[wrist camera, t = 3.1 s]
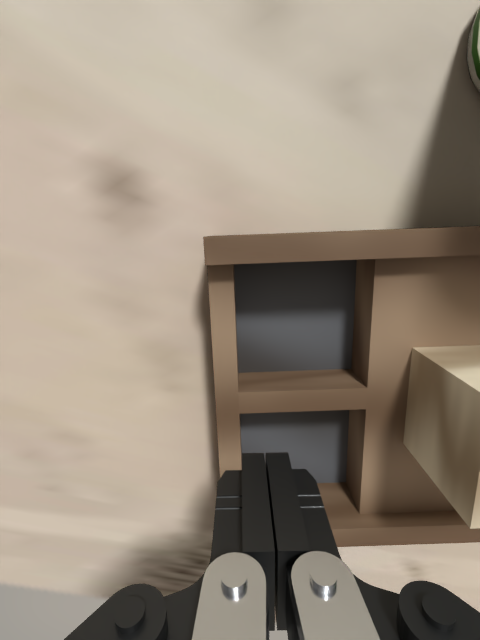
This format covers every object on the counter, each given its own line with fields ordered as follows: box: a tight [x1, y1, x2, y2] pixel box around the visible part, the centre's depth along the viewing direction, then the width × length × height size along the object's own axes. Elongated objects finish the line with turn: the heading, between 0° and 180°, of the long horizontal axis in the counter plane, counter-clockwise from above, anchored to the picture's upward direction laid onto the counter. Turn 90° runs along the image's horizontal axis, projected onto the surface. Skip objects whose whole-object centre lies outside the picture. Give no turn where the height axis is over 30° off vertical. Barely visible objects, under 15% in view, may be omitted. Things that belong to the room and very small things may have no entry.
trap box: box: [203, 226, 480, 547], centre depth 15 cm, size 14×20×3 cm
